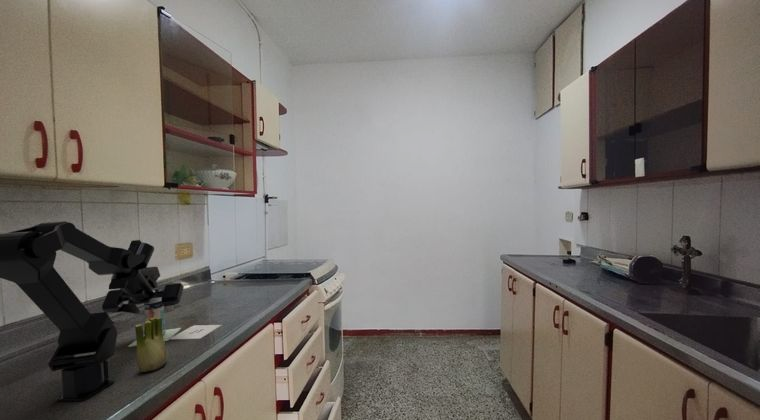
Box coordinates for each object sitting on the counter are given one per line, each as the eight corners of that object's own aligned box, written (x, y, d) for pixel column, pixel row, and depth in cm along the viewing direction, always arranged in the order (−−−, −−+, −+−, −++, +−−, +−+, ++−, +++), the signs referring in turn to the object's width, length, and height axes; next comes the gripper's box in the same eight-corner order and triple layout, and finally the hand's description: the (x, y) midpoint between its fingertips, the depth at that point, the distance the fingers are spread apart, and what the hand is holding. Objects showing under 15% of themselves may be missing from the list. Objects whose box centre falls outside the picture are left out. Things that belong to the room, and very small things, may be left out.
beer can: (145, 337, 91) (142, 298, 91) (164, 331, 94) (161, 294, 94) (147, 341, 87) (144, 301, 87) (167, 335, 91) (164, 297, 91)
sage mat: (167, 341, 87) (167, 340, 87) (128, 347, 85) (127, 346, 85) (181, 328, 97) (181, 327, 97) (146, 333, 94) (146, 332, 94)
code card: (199, 338, 87) (199, 338, 87) (169, 339, 88) (169, 338, 88) (221, 325, 97) (221, 324, 97) (193, 326, 98) (193, 325, 98)
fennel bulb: (138, 377, 68) (134, 325, 67) (136, 370, 71) (133, 320, 71) (169, 367, 71) (165, 318, 71) (165, 360, 75) (162, 313, 75)
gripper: (179, 256, 89) (195, 284, 99) (105, 263, 84) (130, 291, 95) (168, 288, 81) (187, 315, 92) (87, 298, 76) (116, 324, 87)
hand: (155, 310), depth 91 cm, fingers open, 9 cm apart
